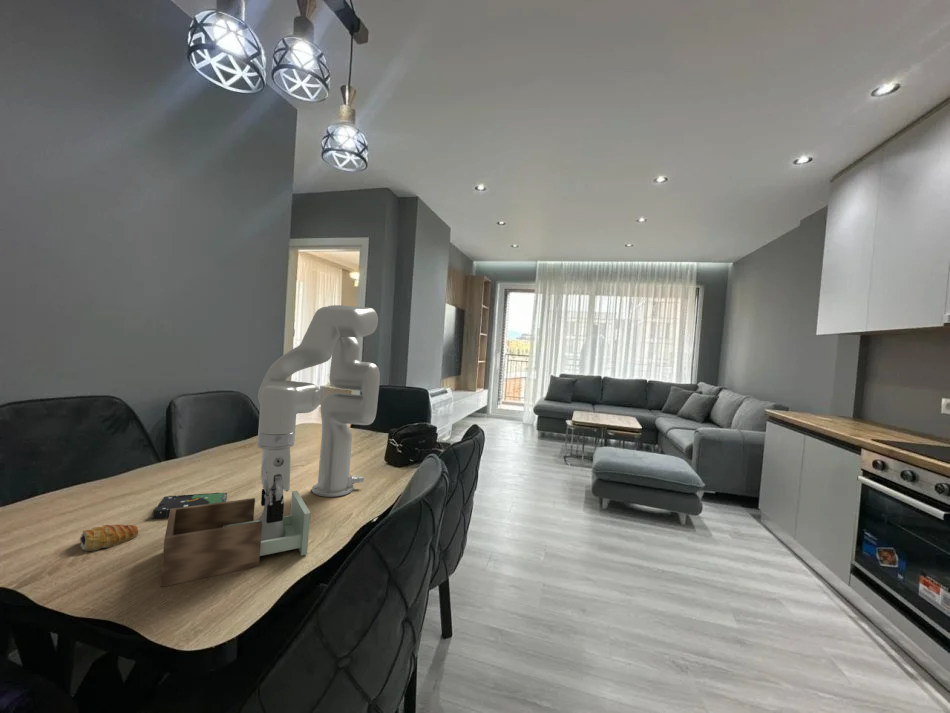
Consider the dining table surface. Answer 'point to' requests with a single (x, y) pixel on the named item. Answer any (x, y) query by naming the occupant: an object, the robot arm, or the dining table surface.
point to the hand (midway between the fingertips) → (271, 512)
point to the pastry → (107, 536)
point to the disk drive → (186, 502)
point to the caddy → (210, 541)
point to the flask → (270, 525)
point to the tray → (289, 529)
